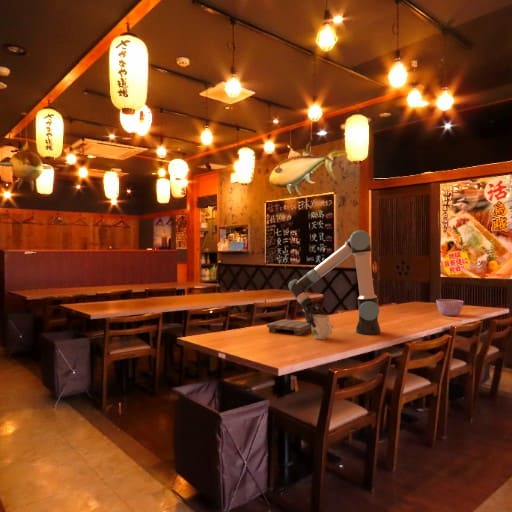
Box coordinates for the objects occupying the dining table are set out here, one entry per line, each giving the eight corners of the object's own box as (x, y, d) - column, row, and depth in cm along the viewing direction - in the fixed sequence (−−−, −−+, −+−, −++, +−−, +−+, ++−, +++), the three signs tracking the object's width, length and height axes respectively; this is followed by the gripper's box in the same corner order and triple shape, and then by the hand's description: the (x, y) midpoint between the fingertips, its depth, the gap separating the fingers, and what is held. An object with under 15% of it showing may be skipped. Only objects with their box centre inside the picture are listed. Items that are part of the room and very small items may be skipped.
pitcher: (323, 342, 244) (323, 318, 244) (305, 336, 260) (305, 314, 259) (338, 340, 249) (338, 317, 249) (319, 334, 265) (319, 312, 265)
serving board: (315, 329, 281) (315, 322, 281) (300, 336, 262) (300, 327, 262) (283, 326, 294) (283, 319, 293) (266, 332, 275) (266, 324, 275)
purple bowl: (468, 317, 325) (468, 302, 325) (442, 317, 326) (442, 302, 325) (456, 313, 345) (456, 299, 345) (431, 313, 346) (431, 299, 345)
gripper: (314, 303, 273) (333, 330, 262) (289, 307, 258) (309, 336, 247) (320, 295, 269) (341, 323, 258) (295, 299, 254) (316, 328, 243)
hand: (325, 329), depth 252 cm, fingers closed on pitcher, 11 cm apart
